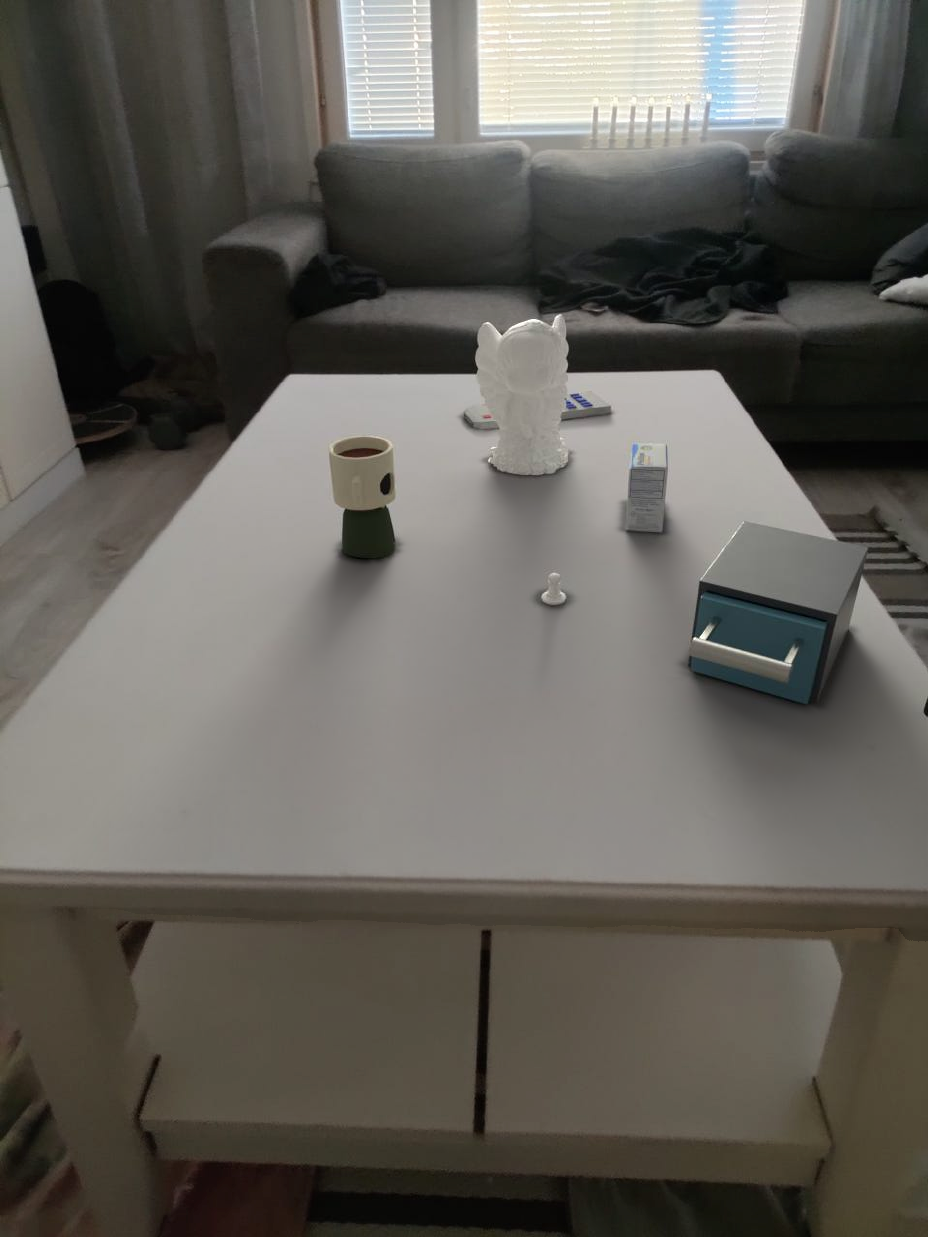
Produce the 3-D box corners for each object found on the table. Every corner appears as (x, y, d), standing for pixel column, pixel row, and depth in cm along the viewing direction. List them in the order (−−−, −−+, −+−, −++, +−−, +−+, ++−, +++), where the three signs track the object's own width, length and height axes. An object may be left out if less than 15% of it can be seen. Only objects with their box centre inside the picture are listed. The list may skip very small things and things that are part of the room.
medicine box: (662, 536, 106) (669, 468, 101) (624, 534, 106) (629, 466, 102) (661, 508, 112) (668, 443, 108) (625, 506, 113) (631, 441, 108)
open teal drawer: (790, 743, 72) (807, 664, 68) (667, 704, 77) (677, 628, 73) (837, 635, 85) (855, 564, 81) (730, 608, 90) (742, 539, 86)
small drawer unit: (815, 707, 77) (837, 614, 72) (687, 670, 83) (699, 580, 78) (847, 633, 87) (868, 547, 82) (730, 604, 92) (744, 520, 87)
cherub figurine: (479, 480, 121) (476, 331, 111) (476, 446, 132) (474, 307, 121) (574, 477, 121) (581, 328, 111) (564, 444, 132) (570, 305, 121)
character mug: (394, 574, 99) (387, 465, 92) (331, 574, 100) (319, 466, 93) (404, 530, 109) (397, 429, 102) (346, 530, 109) (336, 429, 102)
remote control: (610, 417, 142) (611, 404, 140) (475, 433, 136) (475, 419, 135) (590, 402, 148) (591, 389, 147) (461, 417, 143) (461, 403, 142)
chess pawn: (549, 611, 92) (550, 582, 90) (536, 600, 94) (537, 571, 92) (570, 605, 93) (571, 576, 91) (557, 594, 95) (558, 566, 93)
